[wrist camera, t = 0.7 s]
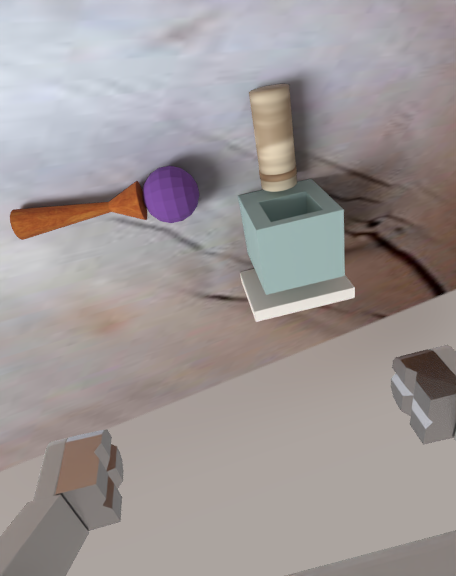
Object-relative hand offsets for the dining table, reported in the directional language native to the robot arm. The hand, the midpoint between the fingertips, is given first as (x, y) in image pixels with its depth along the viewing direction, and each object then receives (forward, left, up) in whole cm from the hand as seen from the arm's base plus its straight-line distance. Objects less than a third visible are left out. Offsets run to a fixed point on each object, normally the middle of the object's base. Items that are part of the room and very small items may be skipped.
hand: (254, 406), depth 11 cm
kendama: (+6, -9, -38) cm, 40 cm away
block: (+13, +10, -38) cm, 41 cm away
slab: (+20, +10, -38) cm, 44 cm away
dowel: (+3, +10, -38) cm, 39 cm away
